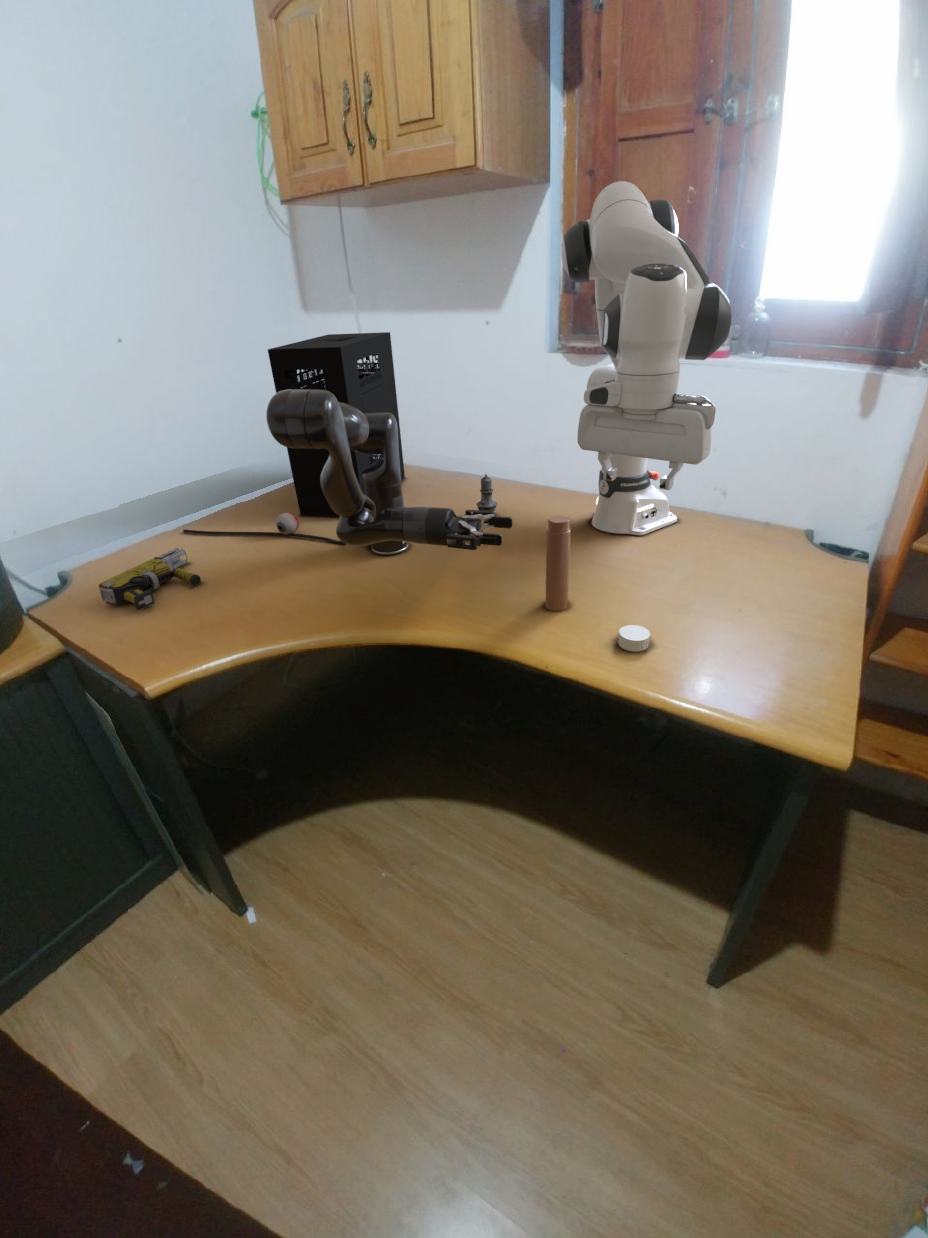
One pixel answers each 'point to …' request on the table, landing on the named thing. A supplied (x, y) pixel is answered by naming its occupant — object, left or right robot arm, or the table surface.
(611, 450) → the right robot arm
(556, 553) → the tan cylinder
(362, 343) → the cardboard box
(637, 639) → the lid
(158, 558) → the toy gun
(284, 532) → the eyeball
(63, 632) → the table surface
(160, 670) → the table surface
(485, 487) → the grey stone chess piece
